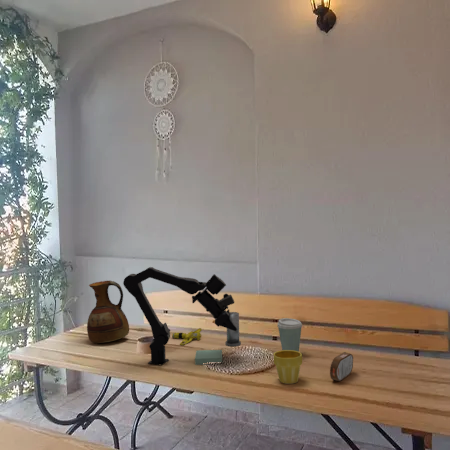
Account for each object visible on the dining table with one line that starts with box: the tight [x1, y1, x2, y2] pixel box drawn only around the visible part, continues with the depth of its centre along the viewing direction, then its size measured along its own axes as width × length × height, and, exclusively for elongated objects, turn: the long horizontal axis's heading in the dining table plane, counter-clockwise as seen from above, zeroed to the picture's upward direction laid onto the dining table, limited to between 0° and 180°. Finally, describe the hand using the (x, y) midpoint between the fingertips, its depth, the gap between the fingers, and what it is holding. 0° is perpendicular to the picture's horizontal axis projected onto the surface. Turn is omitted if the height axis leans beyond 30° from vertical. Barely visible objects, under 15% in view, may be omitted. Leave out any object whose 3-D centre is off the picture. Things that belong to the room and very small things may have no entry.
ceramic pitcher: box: [86, 280, 130, 344], centre depth 220 cm, size 20×20×30 cm
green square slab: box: [194, 349, 223, 366], centre depth 186 cm, size 11×11×2 cm
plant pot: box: [272, 349, 303, 385], centre depth 161 cm, size 10×10×10 cm
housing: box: [224, 311, 242, 348], centre depth 185 cm, size 6×6×13 cm
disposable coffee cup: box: [277, 317, 303, 352], centre depth 190 cm, size 11×11×15 cm
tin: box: [329, 351, 354, 382], centre depth 162 cm, size 15×3×8 cm, turn 141°
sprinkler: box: [171, 327, 202, 346], centre depth 219 cm, size 19×4×15 cm
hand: (236, 328), depth 185 cm, fingers closed on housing, 5 cm apart
